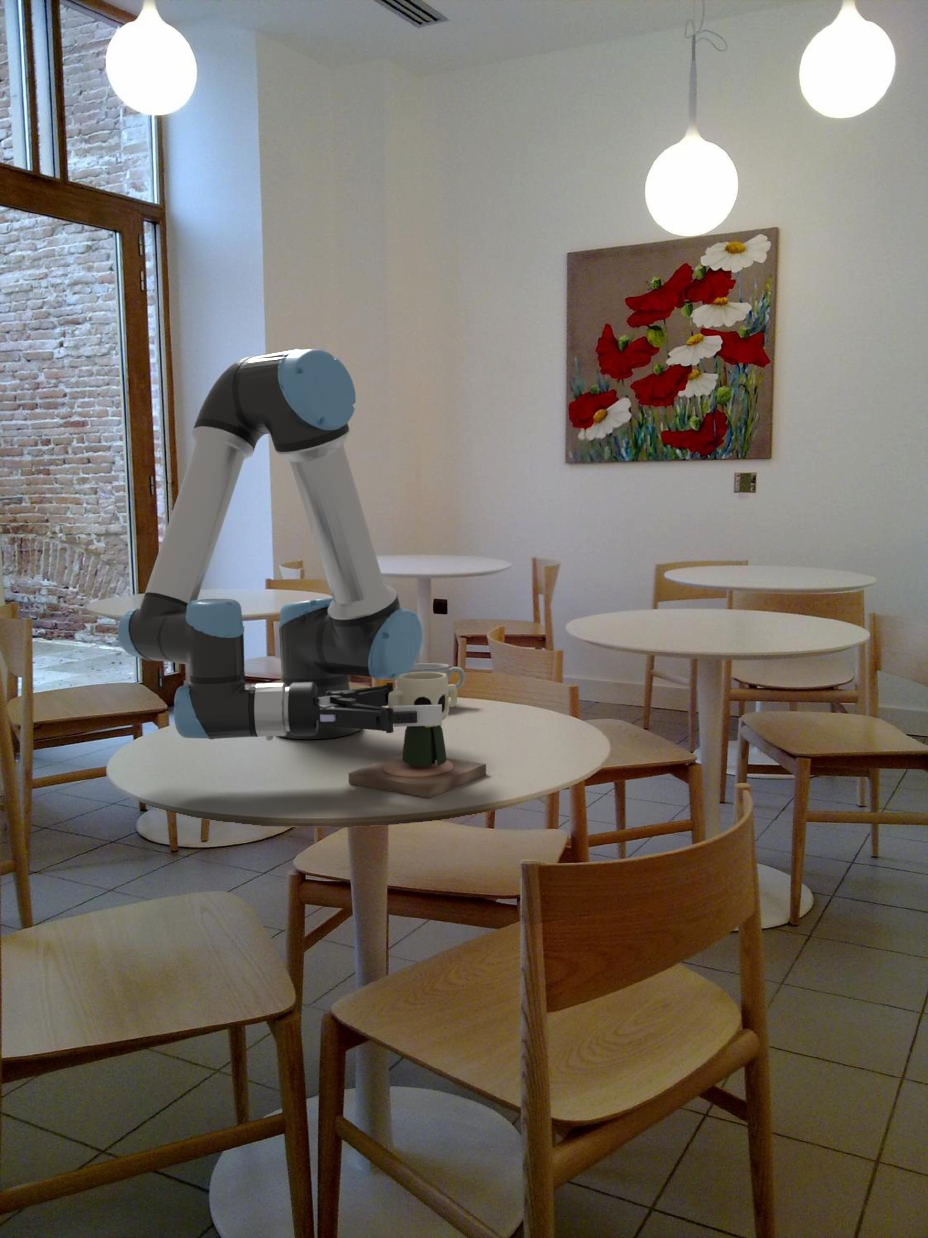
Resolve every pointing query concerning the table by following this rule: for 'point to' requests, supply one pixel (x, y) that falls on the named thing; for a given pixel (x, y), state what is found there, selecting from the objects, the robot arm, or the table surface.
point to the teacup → (438, 668)
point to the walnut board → (417, 776)
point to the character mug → (424, 740)
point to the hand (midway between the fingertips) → (440, 705)
